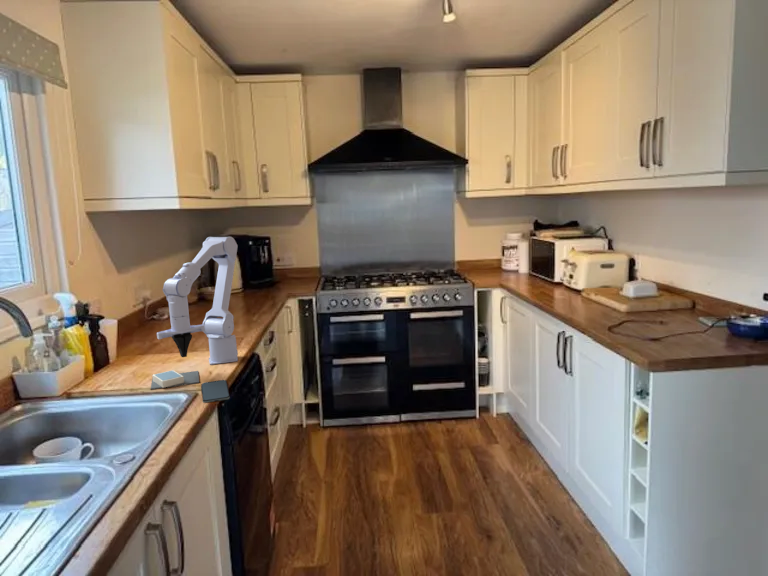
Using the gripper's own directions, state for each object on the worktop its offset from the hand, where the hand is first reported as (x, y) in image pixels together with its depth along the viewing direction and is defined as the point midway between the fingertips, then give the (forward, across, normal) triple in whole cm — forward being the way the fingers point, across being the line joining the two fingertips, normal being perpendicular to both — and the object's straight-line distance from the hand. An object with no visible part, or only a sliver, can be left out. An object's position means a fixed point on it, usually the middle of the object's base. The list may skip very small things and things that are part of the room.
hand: (183, 356), depth 173 cm
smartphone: (+7, -2, +22) cm, 23 cm away
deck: (+5, +3, +3) cm, 7 cm away
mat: (+7, +4, +2) cm, 8 cm away
